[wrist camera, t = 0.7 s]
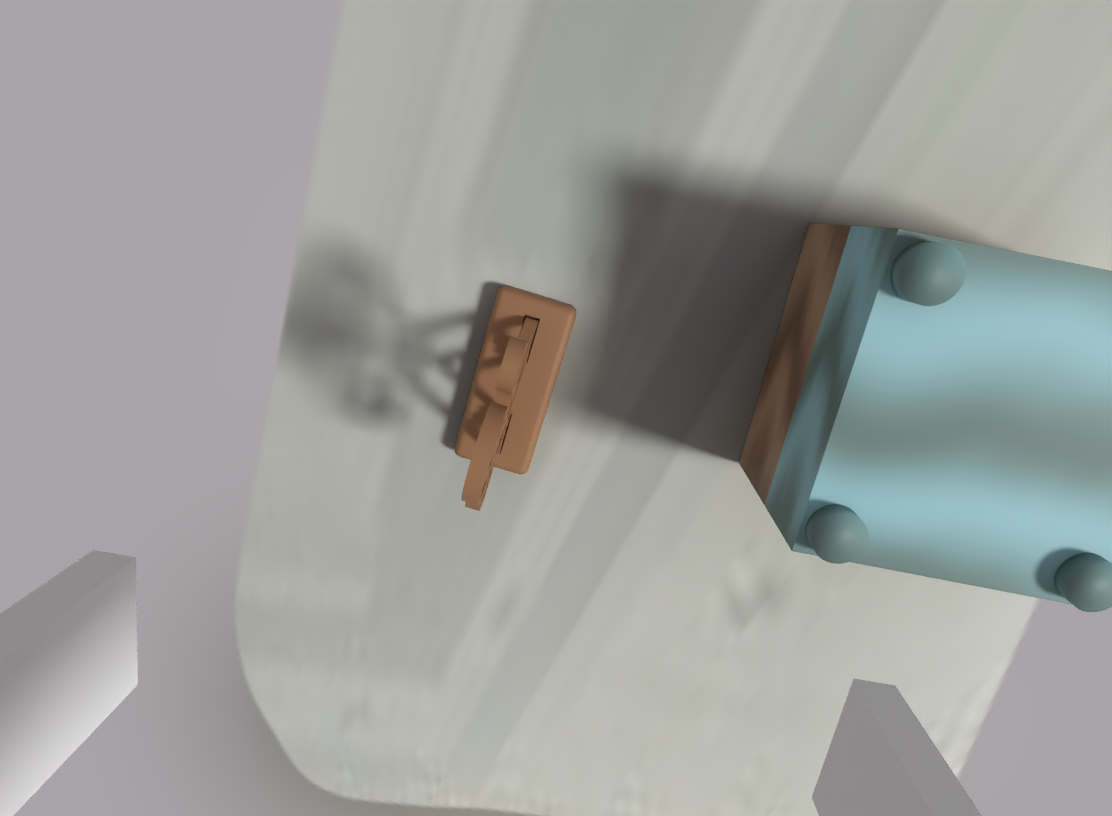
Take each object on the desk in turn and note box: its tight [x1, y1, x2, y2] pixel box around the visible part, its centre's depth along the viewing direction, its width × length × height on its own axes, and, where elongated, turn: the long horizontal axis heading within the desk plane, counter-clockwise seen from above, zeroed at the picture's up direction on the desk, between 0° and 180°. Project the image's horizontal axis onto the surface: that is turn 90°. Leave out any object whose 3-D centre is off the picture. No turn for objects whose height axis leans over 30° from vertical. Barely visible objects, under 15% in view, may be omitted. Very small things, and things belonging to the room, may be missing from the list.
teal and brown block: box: [739, 223, 1112, 612], centre depth 27 cm, size 12×12×10 cm
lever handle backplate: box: [455, 285, 576, 511], centre depth 27 cm, size 9×4×12 cm, turn 163°
